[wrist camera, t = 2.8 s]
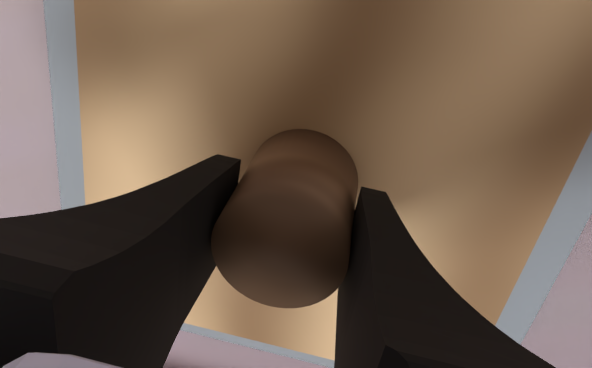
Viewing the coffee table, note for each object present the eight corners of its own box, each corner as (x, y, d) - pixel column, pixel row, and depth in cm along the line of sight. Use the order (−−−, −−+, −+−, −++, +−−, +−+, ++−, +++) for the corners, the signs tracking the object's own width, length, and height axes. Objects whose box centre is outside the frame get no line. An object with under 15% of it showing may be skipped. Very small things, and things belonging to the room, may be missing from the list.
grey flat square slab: (747, -95, 10) (759, -96, 10) (484, 397, 18) (486, 406, 18) (34, -220, 11) (23, -225, 11) (74, 295, 19) (69, 302, 19)
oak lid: (647, -31, 11) (792, -4, 7) (458, 368, 17) (478, 500, 13) (89, -135, 12) (-60, -163, 8) (105, 281, 18) (26, 381, 14)
